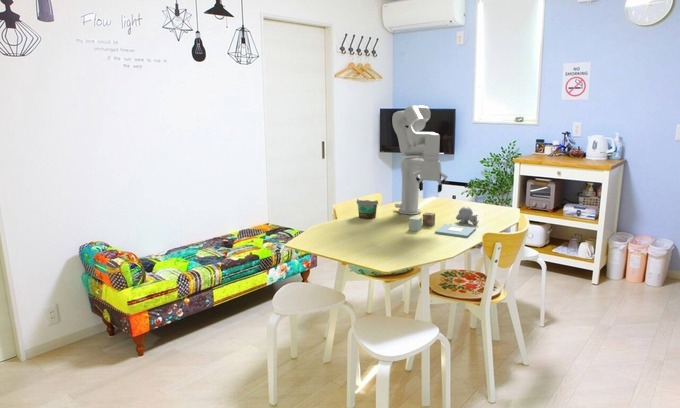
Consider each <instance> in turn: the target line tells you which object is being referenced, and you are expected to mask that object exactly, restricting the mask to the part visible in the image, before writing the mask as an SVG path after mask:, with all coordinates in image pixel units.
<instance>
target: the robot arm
mask: <svg viewBox="0 0 680 408" xmlns="http://www.w3.org/2000/svg"><path fill="white" fill-rule="evenodd" d="M431 114H432V113H431V110H430V108H429V107H428V106H426V105H409V106H407V107H406V108H405V109H404V110H397V111H396V112H394V113H393V114H392V117H391V118H392V119H391V121H392V128H393V130H394V132H395V134H396V136H397V139H398V140H397V141H398V145H399V151H400V154H401V156H402V157H403V159H402V160H401V162H400V168H401V169H400V171H401V203H395V204H394V208H397V209H398V213H400V214H402V215H418V214H421V212H422V211H421V210H420V209H419V194H420V193H419V192H421V191H422V192H423V190H424V181H427V182H428V181H429V182H430V181H431V182H437V183H438V184H437V193H441V192H442V191H443V184H445V182H446V181H447V179H448V175H446V174H445V173H443V172H442V166H441V165H442V164H441V160H440V145H441V144H440V142H441V141H440V140H441V135H440V134H439V133H436V132H434V131H423V129H425V128H426V123H427V122H428V121H429V120H430V119H431ZM406 126H408V127H406ZM442 178H443V179H442ZM441 179H442V180H441Z"/></svg>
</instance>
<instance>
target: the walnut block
mask: <svg viewBox="0 0 680 408" xmlns="http://www.w3.org/2000/svg"><path fill="white" fill-rule="evenodd" d="M435 225H436V213H434V212H424V213H423V214H422V226H423V227H434V226H435Z"/></svg>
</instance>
